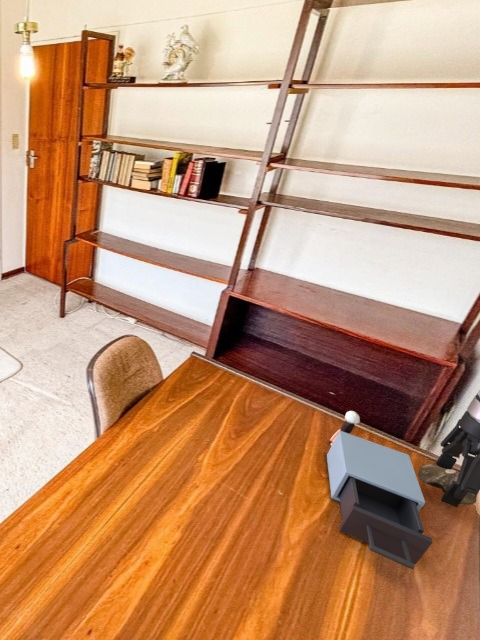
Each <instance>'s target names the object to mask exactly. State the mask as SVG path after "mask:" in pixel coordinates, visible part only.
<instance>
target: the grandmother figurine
mask: <svg viewBox="0 0 480 640" xmlns="http://www.w3.org/2000/svg"><path fill="white" fill-rule="evenodd" d="M360 419H361V417H360V415H359V414H358V413H357V412H356V411H353V410H349V411H347V412H346V413H345V416H344V420H345V421H344V422H343V423H342V425H341V426H340V428H339V429H338V430H337V431H336V432H335V433H334V434H333V435H332V436H331V438H329V441H330V442H331V443H330V444H329V445H330V447H331V446H332V444H333V442H334V440H335V439H336V437H337V435H338V433H339V431H342V432H345V433H348V434H351V433H352V432H353V431H354V430H355V424H356V425H357V424H359V423H360V422H361V420H360Z"/></svg>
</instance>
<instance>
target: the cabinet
mask: <svg viewBox="0 0 480 640" xmlns="http://www.w3.org/2000/svg"><path fill="white" fill-rule="evenodd" d="M326 461H327V470H328V478H329V488H330V497H331V499H332V500H335V501H337V502H339V503H340V497H339V492H340V490H341V489H342V487H343V485H344V483H345V482H346V480H347V478H348V476H351V477H354V478H356V479H359V480H361V481H364V482H366V483H369V484H372V485H374V486H377V487H379V488H382V489H384V490H387V491H389V492H392V493H395V494H397V495H400V496H402V497H405V498H407V499H410V500H412V501H415V503H416V506H417V509H418V512H419V513H420V511H421V510H422V508H423V507H424V505H425V504H426V500H425V497H424V494H423V492H422V489H421V486H420V483H419V479H418V477H417V474H416V471H415V468H414V465H413V463H412V460H411V457H410V455H409V454H407V453H404V452H402V451H399V450H397V449H393V448H391V447H389V446H388V447H387V446H385V445H382V444H379V443H376V442H373V441H370V440H367V439H365V438H362V437H360V436H356V435H353V434H351V433H350V434H348V433H345V432H342V431H339V433H338V435H337V437H336V439H335V440H334V442H333V444H332V446H331V445H330V448H329V450H328V451H327V454H326Z"/></svg>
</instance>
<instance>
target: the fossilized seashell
mask: <svg viewBox="0 0 480 640" xmlns="http://www.w3.org/2000/svg"><path fill="white" fill-rule="evenodd" d="M435 463H436V462H432V461H431V462H430V463H427V464H423V465H422V466H420V467H419V469H418V472H417V473H418V477H419V480H420V481H421V482H423V483H425V484H426V485H429V486H431V487H434V488H437V489H440V490H442V492H443V493H444V494H445V492H446V491H447V490H448V488H449V487H450V485H451V484H452V481H456V482H457V479H458V475H459V472H458V471H457V470H454V469H451V470H450V469H445V468H441V467H440V466H438V465H436V464H435ZM475 503H477V495H475V494H472V493H469V492H468V493H467V494H466V496H465V497H464V498H463V500H462V501H461V502H460V504H459V505H462V506H468V505H473V504H475Z"/></svg>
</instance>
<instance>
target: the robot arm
mask: <svg viewBox="0 0 480 640" xmlns="http://www.w3.org/2000/svg"><path fill="white" fill-rule="evenodd" d="M439 444H440V447H442V448H441V454H440V455H439V457H438V459H437V460H436V461H435V462H434V463H435V464H436V465H438V466H440V467H441V468H445V469H450V470H453V468H454V466H455V464H456V463H457V461H458V460H457V459H460V458H461V456H462V457H463V459H462V463H461V466H460V470H459V472H458V473H459V475H458V479H457V482H456V481H452V484H451V485H450V487H449V488H448V490H447V491H446V492H445V493H444V494H443V496H442V497H441V498H440V501H441V503H444V504H447V505H449V506H452V507H454V508H457V507H459V506H460V505H461V504H460V502H461V501H462V500H463V498H464V497H465V496H466V494H467V493H468V492H469V493H472V494H475V495H476V496H477V495H478V494H479V492H480V389H479V390H478V392H477V393H476V394H475V395H474V397H473V399H472V400H471V402H470V403H469V405H468V406H467V408H466V410H465V412H464V413H463V415H462V416H461V418H459V419H458V420H457V423H456V424H455V426H454V427H453V428H452V429H451V431H449V433H448V434H447V435H446V436H445V437H444V438H443V439H442V441H440V443H439ZM460 455H461V456H460Z"/></svg>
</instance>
